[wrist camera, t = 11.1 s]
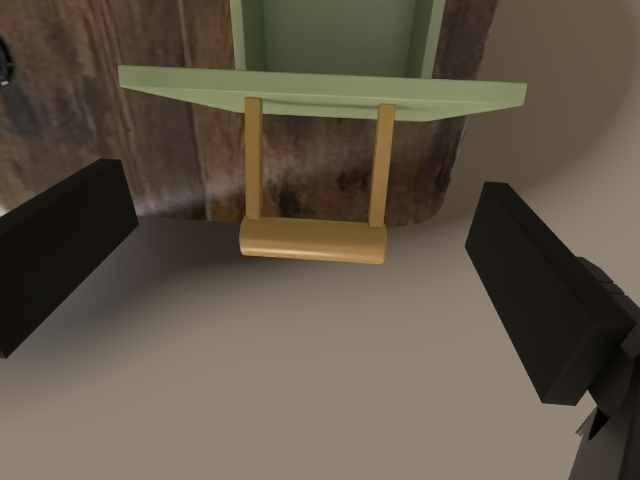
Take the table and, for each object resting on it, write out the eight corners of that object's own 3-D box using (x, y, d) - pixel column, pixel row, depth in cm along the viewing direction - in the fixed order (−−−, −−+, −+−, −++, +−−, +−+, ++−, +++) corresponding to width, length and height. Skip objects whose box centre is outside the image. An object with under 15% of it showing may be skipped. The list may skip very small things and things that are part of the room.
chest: (249, -116, 29) (214, -162, 22) (442, -112, 28) (475, -159, 21) (260, 88, 38) (238, 106, 30) (409, 95, 37) (424, 115, 29)
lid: (116, 64, 14) (138, 263, 16) (528, 82, 13) (487, 286, 16) (237, 102, 30) (239, 199, 32) (426, 111, 29) (413, 210, 31)
